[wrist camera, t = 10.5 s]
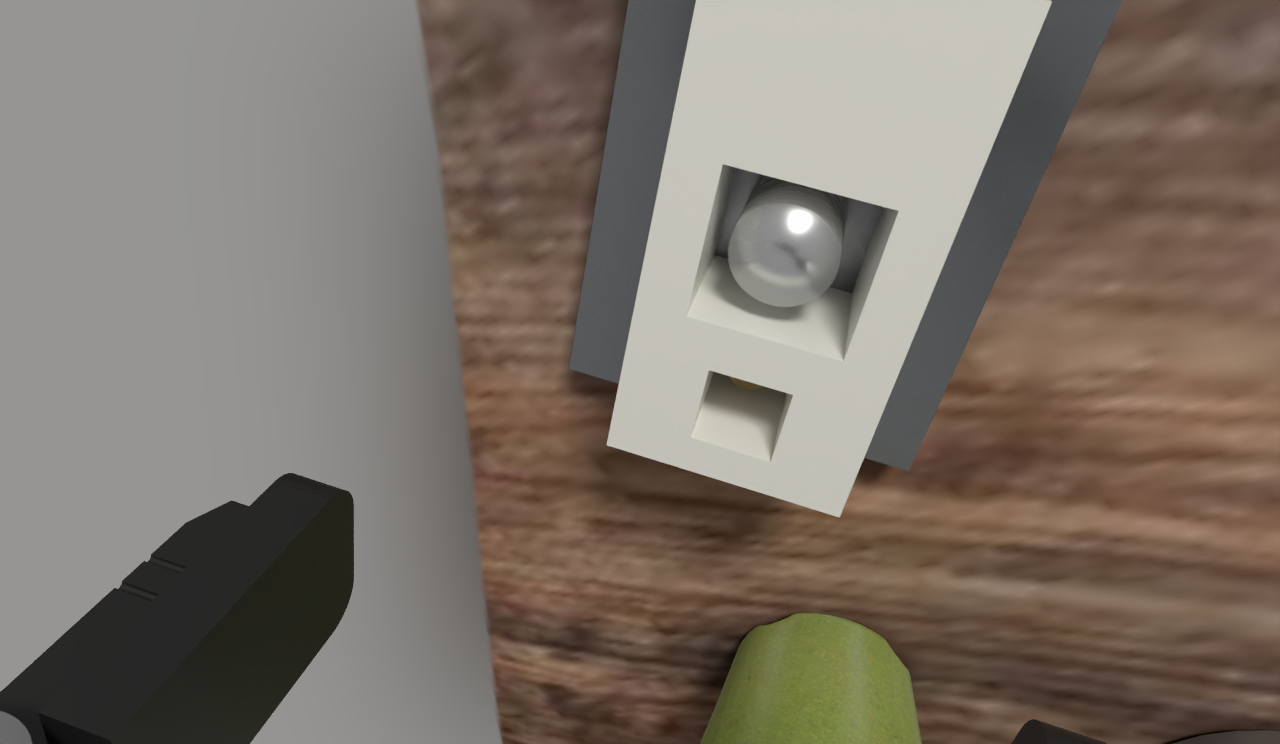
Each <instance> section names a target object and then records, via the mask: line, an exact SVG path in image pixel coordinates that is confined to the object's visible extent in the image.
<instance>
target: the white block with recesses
mask: <svg viewBox="0 0 1280 744" xmlns="http://www.w3.org/2000/svg"><path fill="white" fill-rule="evenodd" d="M1051 3H1052V1H1051V0H696V3H695V8H694V13H693V18H692V23H691V28H690V32H689V37H688V42H687V47H686V52H685V57H684V62H683V67H682V72H681V77H680V82H679V87H678V92H677V97H676V102H675V107H674V112H673V117H672V122H671V127H670V132H669V137H668V142H667V147H666V152H665V157H664V162H663V167H662V172H661V177H660V182H659V187H658V192H657V197H656V202H655V206H654V211H653V216H652V221H651V226H650V231H649V236H648V241H647V246H646V251H645V256H644V261H643V266H642V271H641V276H640V281H639V286H638V291H637V296H636V301H635V306H634V311H633V316H632V321H631V326H630V331H629V336H628V341H627V346H626V351H625V356H624V361H623V366H622V371H621V375H620V380H619V385H618V390H617V395H616V400H615V405H614V410H613V415H612V420H611V425H610V430H609V435H608V440H607V445H608V446H611V447H614V448H617V449H621V450H624V451H627V452H630V453H633V454H637V455H640V456H643V457H646V458H650V459H653V460H656V461H659V462H662V463H666V464H669V465H672V466H675V467H679V468H682V469H685V470H688V471H691V472H695V473H698V474H701V475H704V476H708V477H711V478H714V479H717V480H721V481H724V482H727V483H730V484H733V485H737V486H740V487H743V488H746V489H750V490H753V491H756V492H759V493H762V494H766V495H769V496H772V497H775V498H779V499H782V500H785V501H788V502H791V503H795V504H798V505H801V506H804V507H808V508H811V509H814V510H817V511H820V512H824V513H827V514H830V515H833V516H837V517H840V515H841V513H842V510H843V508H844V505H845V503H846V501H847V498H848V496H849V493H850V491H851V489H852V486H853V484H854V481H855V479H856V476H857V474H858V472H859V469H860V467H861V464H862V462H863V459H864V457H865V455H866V452H867V450H868V447H869V445H870V442H871V440H872V438H873V435H874V433H875V430H876V428H877V425H878V423H879V421H880V418H881V416H882V413H883V411H884V408H885V406H886V404H887V401H888V399H889V396H890V394H891V391H892V389H893V387H894V384H895V382H896V379H897V377H898V374H899V372H900V370H901V367H902V365H903V362H904V360H905V358H906V355H907V353H908V350H909V348H910V345H911V343H912V341H913V338H914V336H915V333H916V331H917V328H918V326H919V324H920V321H921V319H922V316H923V314H924V311H925V309H926V307H927V304H928V302H929V299H930V297H931V294H932V292H933V290H934V287H935V285H936V282H937V280H938V277H939V275H940V273H941V270H942V268H943V265H944V263H945V260H946V258H947V256H948V253H949V251H950V248H951V246H952V244H953V241H954V239H955V236H956V234H957V231H958V229H959V227H960V224H961V222H962V219H963V217H964V214H965V212H966V210H967V207H968V205H969V202H970V200H971V197H972V195H973V193H974V190H975V188H976V185H977V183H978V180H979V178H980V176H981V173H982V171H983V168H984V166H985V163H986V161H987V159H988V156H989V154H990V151H991V149H992V146H993V144H994V142H995V139H996V137H997V134H998V132H999V129H1000V127H1001V125H1002V122H1003V120H1004V117H1005V115H1006V113H1007V110H1008V108H1009V105H1010V103H1011V100H1012V98H1013V96H1014V93H1015V91H1016V88H1017V86H1018V83H1019V81H1020V79H1021V76H1022V74H1023V71H1024V69H1025V66H1026V64H1027V62H1028V59H1029V57H1030V54H1031V52H1032V49H1033V47H1034V45H1035V42H1036V40H1037V37H1038V35H1039V32H1040V30H1041V28H1042V25H1043V23H1044V20H1045V18H1046V15H1047V13H1048V11H1049V8H1050V6H1051ZM736 168H739V169H743V170H747V171H751V172H754V173H758V174H762V175H766V176H769V177H773V178H777V179H781V180H784V181H788V182H792V183H796V184H799V185H803V186H807V187H811V188H814V189H818V190H822V191H826V192H829V193H833V194H837V195H841V196H844V197H848V198H852V199H856V200H859V201H863V202H867V203H871V204H875V205H878V206H882V210H881V213H880V216H879V219H878V222H877V224H876V227H875V230H874V233H873V236H872V238H871V241H870V244H869V247H868V250H867V253H866V255H865V258H864V261H863V264H862V267H861V269H860V272H859V275H858V278H857V281H856V284H855V286H854V289H853V292H852V293H849V292H845V291H842V290H838V289H835V288H831V287H829V288H828V289H827V290H826V291H825V292H824V293H823V294H822V295H820V296H819V297H817V298H816V299H814V300H812V301H811V302H808V303H805V304H803V305H799V306H793V307H778V306H772V305H768V304H765V303H762V302H760V301H758V300H756V299H755V298H753V297H751V296H750V295H749V294H747V293H746V292H745V291H744V290H743V289H742V288H741V287H740V286H739V284H738V283H737V282H736V280H735V278H734V276H733V274H732V272H731V269H730V266H729V261H728V259H727V258H723V257H720V256H716V255H715V252H716V248H717V244H718V240H719V236H720V232H721V228H722V224H723V220H724V216H725V212H726V208H727V204H728V200H729V196H730V192H731V188H732V184H733V180H734V176H735V172H736ZM730 377H734V378H737V379H741V380H744V381H747V382H751V383H754V384H758V385H761V386H762V387H761V388H759V389H756V390H744V389H741V388H739V387H738V386H736V385H735V384H734V383H733V382H732V381H731V379H730Z"/></svg>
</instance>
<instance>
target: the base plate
mask: <svg viewBox="0 0 1280 744" xmlns="http://www.w3.org/2000/svg"><path fill="white" fill-rule="evenodd" d="M1051 1H1052V3H1051V6H1050V8H1049V11H1048V13H1047V15H1046V18H1045V20H1044V23H1043V25H1042V28H1041V30H1040V32H1039V35H1038V37H1037V40H1036V42H1035V45H1034V47H1033V49H1032V52H1031V54H1030V57H1029V59H1028V62H1027V64H1026V66H1025V69H1024V71H1023V74H1022V76H1021V79H1020V81H1019V83H1018V86H1017V88H1016V91H1015V93H1014V96H1013V98H1012V100H1011V103H1010V105H1009V108H1008V110H1007V113H1006V115H1005V117H1004V120H1003V122H1002V125H1001V127H1000V129H999V132H998V134H997V137H996V139H995V142H994V144H993V146H992V149H991V151H990V154H989V156H988V159H987V161H986V163H985V166H984V168H983V171H982V173H981V176H980V178H979V180H978V183H977V185H976V188H975V190H974V193H973V195H972V197H971V200H970V202H969V205H968V207H967V210H966V212H965V214H964V217H963V219H962V222H961V224H960V227H959V229H958V231H957V234H956V236H955V239H954V241H953V244H952V246H951V248H950V251H949V253H948V256H947V258H946V260H945V263H944V265H943V268H942V270H941V273H940V275H939V277H938V280H937V282H936V285H935V287H934V290H933V292H932V294H931V297H930V299H929V302H928V304H927V307H926V309H925V311H924V314H923V316H922V319H921V321H920V324H919V326H918V328H917V331H916V333H915V336H914V338H913V341H912V343H911V345H910V348H909V350H908V353H907V355H906V358H905V360H904V362H903V365H902V367H901V370H900V372H899V374H898V377H897V379H896V382H895V384H894V387H893V389H892V391H891V394H890V396H889V399H888V401H887V404H886V406H885V408H884V411H883V413H882V416H881V418H880V421H879V423H878V425H877V428H876V430H875V433H874V435H873V438H872V440H871V442H870V445H869V447H868V450H867V452H866V455H865V457H864V458H866V459H870V460H873V461H876V462H880V463H883V464H886V465H890V466H893V467H896V468H900V469H903V470H906V471H909V469H910V467H911V465H912V463H913V460H914V458H915V456H916V454H917V452H918V449H919V447H920V445H921V443H922V441H923V438H924V436H925V434H926V432H927V430H928V427H929V425H930V423H931V421H932V419H933V416H934V414H935V412H936V410H937V408H938V405H939V403H940V401H941V399H942V397H943V394H944V392H945V390H946V388H947V386H948V383H949V381H950V379H951V377H952V375H953V372H954V370H955V368H956V366H957V364H958V361H959V359H960V357H961V355H962V353H963V350H964V348H965V346H966V344H967V342H968V339H969V337H970V335H971V333H972V331H973V328H974V326H975V324H976V322H977V320H978V317H979V315H980V313H981V311H982V308H983V306H984V304H985V302H986V300H987V297H988V295H989V293H990V291H991V289H992V286H993V284H994V282H995V280H996V278H997V275H998V273H999V271H1000V269H1001V267H1002V264H1003V262H1004V260H1005V258H1006V256H1007V253H1008V251H1009V249H1010V247H1011V245H1012V242H1013V240H1014V238H1015V236H1016V234H1017V231H1018V229H1019V227H1020V225H1021V223H1022V220H1023V218H1024V216H1025V214H1026V212H1027V209H1028V207H1029V205H1030V203H1031V201H1032V198H1033V196H1034V194H1035V192H1036V190H1037V187H1038V185H1039V183H1040V181H1041V179H1042V176H1043V174H1044V172H1045V170H1046V168H1047V165H1048V163H1049V161H1050V159H1051V157H1052V154H1053V152H1054V150H1055V148H1056V146H1057V143H1058V141H1059V139H1060V137H1061V134H1062V132H1063V130H1064V128H1065V126H1066V123H1067V121H1068V119H1069V117H1070V115H1071V112H1072V110H1073V108H1074V106H1075V104H1076V101H1077V99H1078V97H1079V95H1080V93H1081V90H1082V88H1083V86H1084V84H1085V82H1086V79H1087V77H1088V75H1089V73H1090V71H1091V68H1092V66H1093V64H1094V62H1095V60H1096V57H1097V55H1098V53H1099V51H1100V49H1101V46H1102V44H1103V42H1104V40H1105V38H1106V35H1107V33H1108V31H1109V29H1110V27H1111V24H1112V22H1113V20H1114V18H1115V16H1116V13H1117V11H1118V9H1119V7H1120V5H1121V2H1122V0H1051ZM695 3H696V0H628V6H627V13H626V19H625V25H624V31H623V37H622V44H621V50H620V56H619V62H618V68H617V74H616V81H615V87H614V93H613V99H612V105H611V112H610V118H609V124H608V130H607V136H606V142H605V149H604V155H603V161H602V167H601V173H600V180H599V186H598V192H597V198H596V204H595V210H594V217H593V223H592V229H591V235H590V241H589V248H588V254H587V260H586V266H585V272H584V278H583V285H582V291H581V297H580V303H579V309H578V316H577V322H576V328H575V334H574V340H573V346H572V353H571V359H570V365H569V369H571V370H574V371H578V372H581V373H584V374H588V375H591V376H594V377H598V378H601V379H604V380H608V381H611V382H614V383H618V384H619V380H620V375H621V371H622V366H623V361H624V356H625V351H626V346H627V341H628V336H629V331H630V326H631V321H632V316H633V311H634V306H635V301H636V296H637V291H638V286H639V281H640V276H641V271H642V266H643V261H644V256H645V251H646V246H647V241H648V236H649V231H650V226H651V221H652V216H653V211H654V206H655V202H656V197H657V192H658V187H659V182H660V177H661V172H662V167H663V162H664V157H665V152H666V147H667V142H668V137H669V132H670V127H671V122H672V117H673V112H674V107H675V102H676V97H677V92H678V87H679V82H680V77H681V72H682V67H683V62H684V57H685V52H686V47H687V42H688V37H689V32H690V28H691V23H692V18H693V13H694V8H695ZM881 210H882V206H878V205H875V204H871V203H867V202H863V201H859V200H856V199H852V198H848V197H844V196H841V195H837V194H833V193H829V192H826V191H822V190H818V189H814V188H811V187H807V186H803V185H799V184H796V183H792V182H788V181H784V180H781V179H777V178H773V177H769V176H766V175H762V174H758V173H754V172H751V171H747V170H743V169H739V168H736V172H735V176H734V180H733V184H732V188H731V192H730V196H729V200H728V204H727V208H726V212H725V216H724V220H723V224H722V228H721V232H720V236H719V240H718V244H717V248H716V252H715V255H716V256H720V257H723V258H727V259H728V261H729V266H730V269H731V272H732V274H733V276H734V278H735V280H736V282H737V283H738V284H739V286H740V287H741V288H742V289H743V290H744V291H745V292H746V293H747V294H749V295H750V296H751V297H753V298H755V299H756V300H758V301H760V302H762V303H765V304H768V305H772V306H778V307H793V306H799V305H803V304H805V303H808V302H811V301H812V300H814V299H816V298H817V297H819V296H820V295H822V294H823V293H824V292H825V291H826V290H827V289H828V288H829V287H831V288H835V289H838V290H842V291H845V292H849V293H852V292H853V289H854V286H855V284H856V281H857V278H858V275H859V272H860V269H861V267H862V264H863V261H864V258H865V255H866V253H867V250H868V247H869V244H870V241H871V238H872V236H873V233H874V230H875V227H876V224H877V222H878V219H879V216H880V213H881ZM730 379H731V381H732V382H733V383H734V384H735V385H736V386H738V387H739V388H741V389H744V390H756V389H759V388H761V387H762V386H761V385H758V384H754V383H751V382H747V381H744V380H741V379H737V378H734V377H730Z"/></svg>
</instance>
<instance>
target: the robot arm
mask: <svg viewBox="0 0 1280 744" xmlns="http://www.w3.org/2000/svg"><path fill="white" fill-rule="evenodd" d="M353 505H354V504H353V498H352V495H351V494H350V493H349V492H348V491H345V490H342V489H339V488H336V487H333V486H330V485H327V484H324V483H321V482H318V481H315V480H312V479H309V478H306V477H303V476H300V475H296V474H293V473H288V474H285V475H283V476H281V477H280V478H278V479H277V480H276V481H275V482H274V483H273V484H272V485H271V486H270V487H269V488H268V489H267V490H266V491H265V492H264V493H263V494H261V495H260V496H259V497H258V498H257V500H255V501H254V502H253V503H252V504H251V505H250V506H246V505H243V504H240V503H237V502H234V501H230V502H228V503H226V504H224V505H222V506H220V507H217V508H216V509H213V510H211V511H209V512H207V513H205V514H203V515H201V516H199V517H197V518H195V519H193V520H191V521H189V522H187V523H185V524H184V525H183V526H182V527H181V528H180V529H179V530H178V531H177V532H175V533H174V534H173V535H172V536H171V537H170V538H169V539H168V540H167V541H166V542H164V543H163V544H162V545H161V546H160V547H159V548H158V549H157V550H156V551H155V552H154V553H152V554H151V558H150V560H149V561H148V562H145V561H144V562H143V563H141V564H140V565H139V566H138V567H137V568H136V569H135V570H134V571H133V572H132V573H131V574H130V575H128V576H127V577H126V578H125V579H124V580H123V581H122V585H121V586H120V588H119V589H116V588H114V589H113V590H112V591H111V592H110V593H109V594H108V595H106V596H105V597H104V598H103V599H102V600H101V601H100V602H99V603H98V604H97V605H96V606H94V607H93V608H92V609H91V610H90V611H89V612H88V613H87V614H86V615H85V616H84V617H82V618H81V619H80V620H79V621H78V622H77V623H76V624H75V625H74V626H72V627H71V628H70V629H69V630H68V631H67V632H66V633H65V634H64V635H63V636H61V637H60V638H59V639H58V640H57V641H56V642H55V643H54V644H53V645H52V646H51V647H50V648H48V649H47V650H46V651H45V652H44V653H43V654H42V655H41V656H40V657H39V658H37V659H36V660H35V661H34V662H33V663H32V664H31V665H30V666H29V667H28V668H26V669H25V670H24V671H23V672H22V673H21V674H20V675H19V676H18V677H17V678H15V679H14V680H13V681H12V682H11V683H10V684H9V685H8V686H7V687H6V688H5V689H3V690H2V691H1V692H0V744H250V742H251V741H252V740H253V739H254V737H255V736H256V735H257V733H258V732H259V731H260V729H261V728H262V726H263V725H264V724H265V723H266V721H267V720H268V719H269V717H270V716H271V715H272V713H273V712H274V711H275V709H276V708H277V706H278V705H279V704H280V703H281V701H282V700H283V698H284V697H285V696H286V694H287V693H288V692H289V690H290V689H291V688H292V687H293V685H294V684H295V682H296V681H297V680H298V679H299V677H300V676H301V674H302V673H303V672H304V671H305V669H306V668H307V667H308V665H309V664H310V663H311V661H312V660H313V658H314V657H315V656H316V655H317V653H318V652H319V650H320V649H321V648H322V646H323V645H324V644H325V642H326V641H327V640H328V639H329V637H330V636H331V635H332V633H333V632H334V630H335V629H336V627H337V626H338V624H339V622H340V620H341V619H342V617H343V615H344V612H345V610H346V608H347V605H348V603H349V599H350V596H351V592H352V588H353V581H354V506H353ZM1012 744H1106V743H1105V742H1102V741H1099V740H1096V739H1093V738H1090V737H1087V736H1084V735H1081V734H1078V733H1074V732H1071V731H1068V730H1065V729H1062V728H1059V727H1056V726H1053V725H1050V724H1047V723H1044V722H1041V721H1038V720H1035V719H1033V720H1030V721H1028V722H1027V723H1026V724H1024V726H1023V727H1022V728H1021V730H1020V731H1019V733H1018V734H1017V736H1016V737H1015V739H1014V740H1013V742H1012ZM1173 744H1280V731H1273V730H1258V731H1230V732H1223V733H1215V734H1208V735H1201V736H1198V737H1194V738H1190V739H1187V740H1183V741H1180V742H1176V743H1173Z"/></svg>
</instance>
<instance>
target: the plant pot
mask: <svg viewBox="0 0 1280 744" xmlns="http://www.w3.org/2000/svg"><path fill="white" fill-rule="evenodd" d="M700 744H922V742H921V736H920V731H919V725H918V719H917V713H916V706H915V700H914V695H913V689H912V683H911V677H910V673H909V671H908V669H907V668H906V667H905V666H904V665H903V663H902V662H901V661H900V660H899V658H898V657H897V656H896V654H895V653H894V652H893V650H892V649H891V647H890V646H889V645H888V643H887V642H886V640H885V639H883V638H882V637H881V636H880V635H878V634H877V633H875V632H873V631H872V630H870V629H868V628H866V627H864V626H862V625H860V624H858V623H855V622H852V621H850V620H847V619H844V618H840V617H836V616H831V615H825V614H818V613H796V614H793V615H791V616H789V617H787V618H785V619H783V620H781V621H778V622H775V623H772V624H769V625H760V626H757V627H755V628H754V629H753V630H751V631H750V632H749V633H748V634H747V636H746V637H745V638H744V639H743V640H742V642H741V644H740V645H739V648H738V650H737V653H736V655H735V658H734V660H733V663H732V665H731V668H730V670H729V673H728V676H727V678H726V681H725V683H724V686H723V689H722V691H721V694H720V696H719V699H718V701H717V704H716V706H715V709H714V711H713V713H712V716H711V718H710V721H709V723H708V725H707V728H706V730H705V733H704V735H703V737H702V740H701V742H700Z"/></svg>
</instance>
